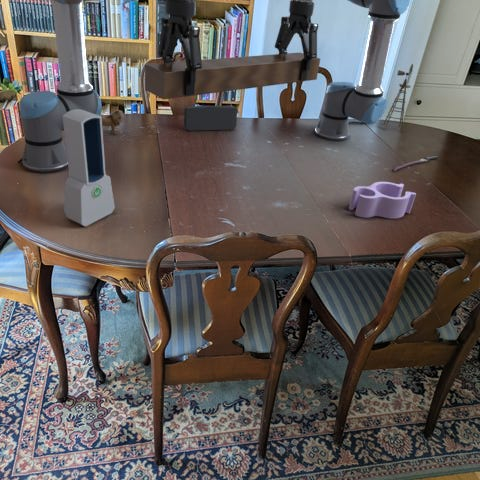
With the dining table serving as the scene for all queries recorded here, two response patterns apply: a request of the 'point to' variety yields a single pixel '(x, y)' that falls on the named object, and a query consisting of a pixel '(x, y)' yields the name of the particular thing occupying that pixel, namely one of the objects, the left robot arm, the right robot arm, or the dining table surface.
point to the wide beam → (227, 74)
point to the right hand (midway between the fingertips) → (291, 76)
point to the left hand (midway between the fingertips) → (178, 89)
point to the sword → (415, 162)
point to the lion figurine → (113, 120)
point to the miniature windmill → (400, 99)
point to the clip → (381, 200)
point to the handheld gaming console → (210, 118)
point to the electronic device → (86, 169)
